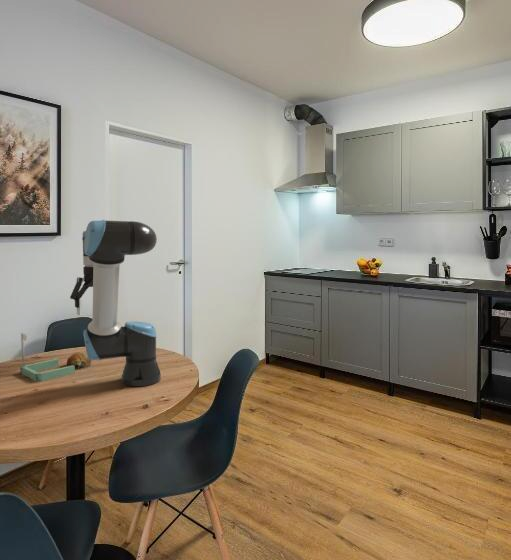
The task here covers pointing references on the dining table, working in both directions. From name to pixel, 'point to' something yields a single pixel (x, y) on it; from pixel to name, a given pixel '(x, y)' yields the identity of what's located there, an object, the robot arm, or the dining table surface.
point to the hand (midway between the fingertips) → (93, 313)
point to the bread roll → (79, 360)
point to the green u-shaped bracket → (43, 367)
